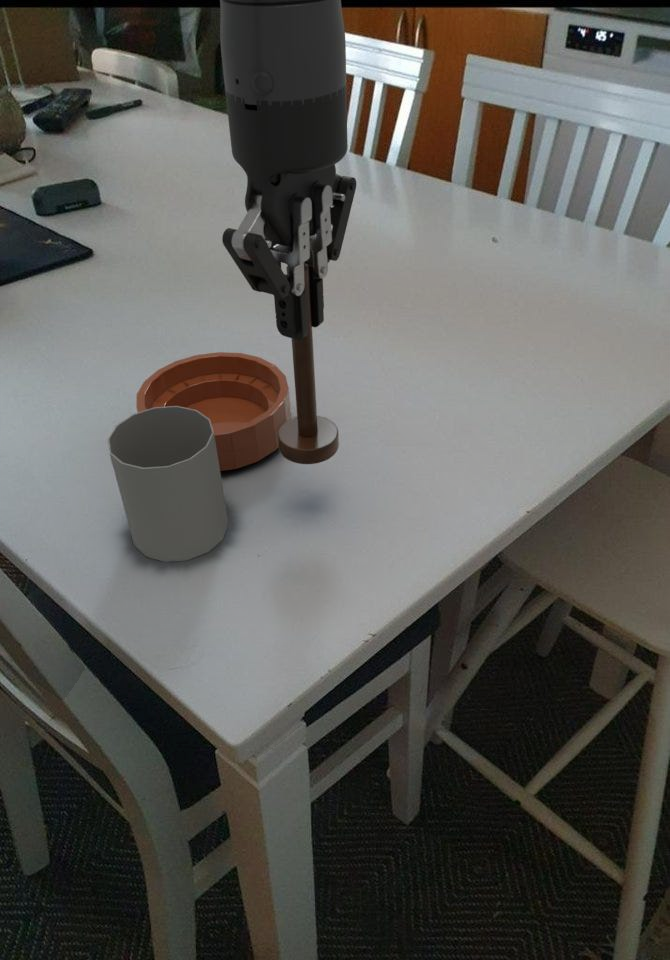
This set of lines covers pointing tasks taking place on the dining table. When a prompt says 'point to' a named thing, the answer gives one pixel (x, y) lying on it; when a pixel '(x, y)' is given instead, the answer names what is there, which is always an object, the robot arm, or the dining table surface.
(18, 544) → the dining table surface
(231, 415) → the bowl
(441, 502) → the dining table surface
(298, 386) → the upright rod on disc
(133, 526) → the cup
